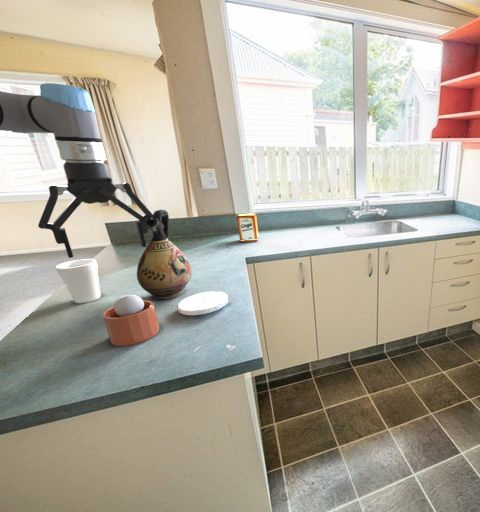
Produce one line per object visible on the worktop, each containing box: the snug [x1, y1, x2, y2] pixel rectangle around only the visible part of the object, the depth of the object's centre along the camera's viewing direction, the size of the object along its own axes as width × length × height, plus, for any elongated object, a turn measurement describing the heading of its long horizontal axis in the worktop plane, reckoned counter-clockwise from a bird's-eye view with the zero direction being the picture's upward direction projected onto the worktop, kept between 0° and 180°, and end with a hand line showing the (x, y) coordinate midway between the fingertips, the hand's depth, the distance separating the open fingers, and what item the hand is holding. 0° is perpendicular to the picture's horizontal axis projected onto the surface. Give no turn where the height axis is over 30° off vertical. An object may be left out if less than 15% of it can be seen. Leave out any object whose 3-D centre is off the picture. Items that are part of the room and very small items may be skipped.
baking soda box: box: [236, 213, 260, 243], centre depth 175 cm, size 10×6×16 cm
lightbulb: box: [113, 294, 144, 317], centre depth 80 cm, size 6×6×11 cm
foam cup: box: [55, 258, 101, 304], centre depth 100 cm, size 10×9×13 cm
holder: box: [102, 299, 160, 347], centre depth 80 cm, size 10×10×8 cm
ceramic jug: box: [136, 209, 193, 301], centre depth 102 cm, size 17×15×30 cm
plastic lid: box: [177, 291, 229, 316], centre depth 97 cm, size 14×14×2 cm
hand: (109, 250), depth 74 cm, fingers open, 13 cm apart
